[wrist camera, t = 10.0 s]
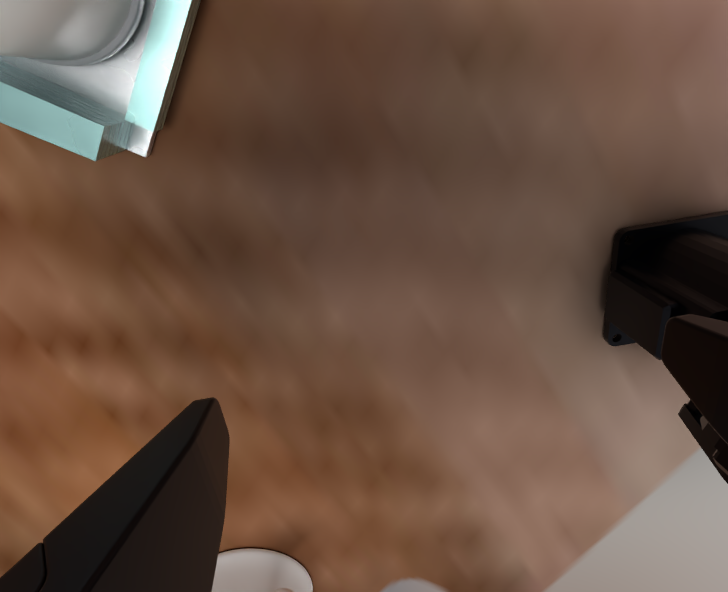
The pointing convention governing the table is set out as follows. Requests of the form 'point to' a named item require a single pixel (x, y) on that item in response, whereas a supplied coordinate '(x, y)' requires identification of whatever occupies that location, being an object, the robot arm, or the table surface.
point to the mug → (259, 572)
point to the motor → (103, 88)
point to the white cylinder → (67, 29)
